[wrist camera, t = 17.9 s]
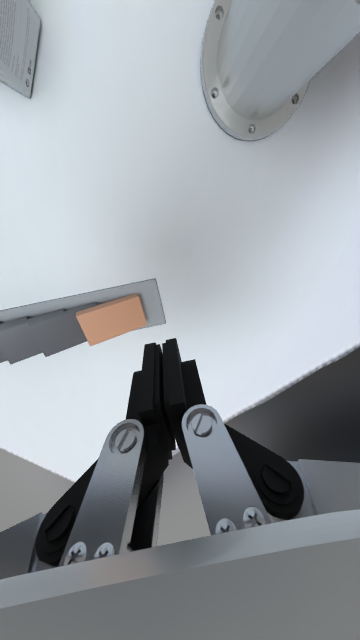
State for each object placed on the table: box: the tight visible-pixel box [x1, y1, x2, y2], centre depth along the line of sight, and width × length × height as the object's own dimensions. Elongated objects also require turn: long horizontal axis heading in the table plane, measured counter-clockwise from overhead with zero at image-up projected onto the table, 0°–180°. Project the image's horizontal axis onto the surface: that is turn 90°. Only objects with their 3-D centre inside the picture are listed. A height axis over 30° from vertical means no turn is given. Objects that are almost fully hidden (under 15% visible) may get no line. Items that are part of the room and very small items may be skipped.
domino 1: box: [0, 316, 29, 363], centre depth 28 cm, size 2×5×9 cm
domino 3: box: [28, 302, 97, 357], centre depth 29 cm, size 2×5×9 cm
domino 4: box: [76, 294, 147, 346], centre depth 29 cm, size 2×5×9 cm
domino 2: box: [0, 308, 64, 364], centre depth 29 cm, size 2×5×9 cm
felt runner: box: [0, 279, 166, 331], centre depth 31 cm, size 26×8×1 cm, turn 100°
